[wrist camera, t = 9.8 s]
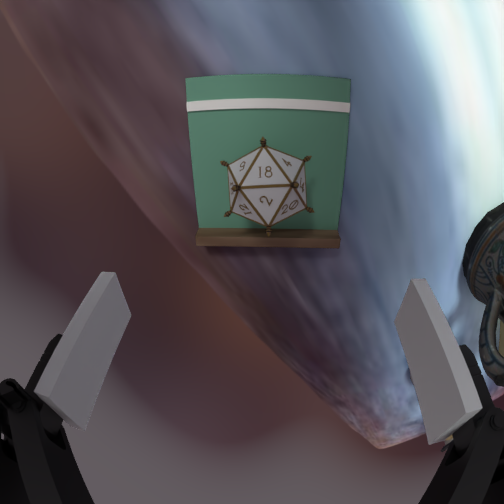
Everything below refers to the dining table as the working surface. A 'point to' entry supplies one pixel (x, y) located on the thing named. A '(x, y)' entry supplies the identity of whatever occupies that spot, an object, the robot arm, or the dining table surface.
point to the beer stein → (488, 285)
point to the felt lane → (269, 139)
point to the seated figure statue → (501, 339)
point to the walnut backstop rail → (268, 237)
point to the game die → (267, 186)
